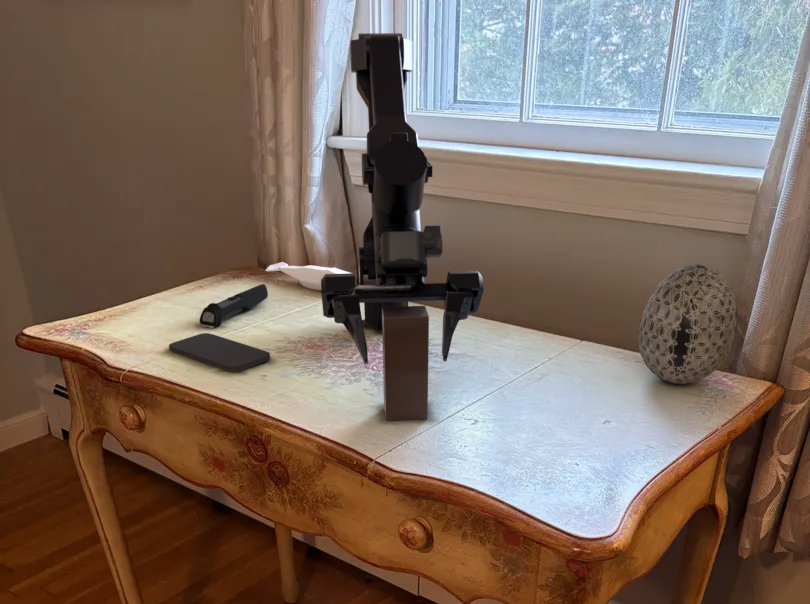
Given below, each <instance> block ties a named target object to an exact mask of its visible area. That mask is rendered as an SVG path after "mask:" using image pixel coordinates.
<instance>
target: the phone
mask: <svg viewBox="0 0 810 604" xmlns="http://www.w3.org/2000/svg"><path fill="white" fill-rule="evenodd" d="M168 347H169V351H170V352H173V353H175V354H179V355H180V356H184V357H187V358H190V359H192V360H195V361H199V362H201V363H204V364H206V365H210V366H213V367H216V368H219V369H221V370H224V371H227V372H235V373H236V372H240V371H243V370H245V369H248V368H251V367H253V366H256V365H258V364H261V363H263V362H267V361H269V360H270V359H271V353H270V352H269V351H267V350H264V349H261V348H258V347H255V346H251V345H248V344H245V343H242V342H239V341H236V340H232V339H229V338H226V337H223V336H219V335H216V334H213V333H209V332H202V333H198V334H196V335H193V336H189V337H187V338H183V339H180V340H177V341H174V342H171V343H169V344H168Z"/></svg>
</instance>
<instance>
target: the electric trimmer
mask: <svg viewBox="0 0 810 604" xmlns="http://www.w3.org/2000/svg"><path fill="white" fill-rule="evenodd" d="M267 288H268V287H267V286H266V284H265V283H261V284H259V285H257V286H254V287H252V288H249V289H246V290H244V291H241V292H239V293H235V294H234V295H232V296H230V297H227V298H225V299H224V300H222V301H219V302H217V303H216V302H211V303H208V305H207V306H206V307H204V308H203V310H202V311H201V313H200V316H199V324H200V325H201V326H202V327H206V328H207V327H208V328H211V329H215V328H219V327H220V326H221V325H222V322H223V321H226V320H227V319H229V318H231V317H233V316H235V315H237V314H239V313H241V312H244V313H245V312H248V311H250V310H252V309H253V308H255V307H257V306H258V305H259V304H260V303H262V302H264V301H265V300H266V299H267V298H268V296H269V293H268V289H267Z"/></svg>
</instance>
